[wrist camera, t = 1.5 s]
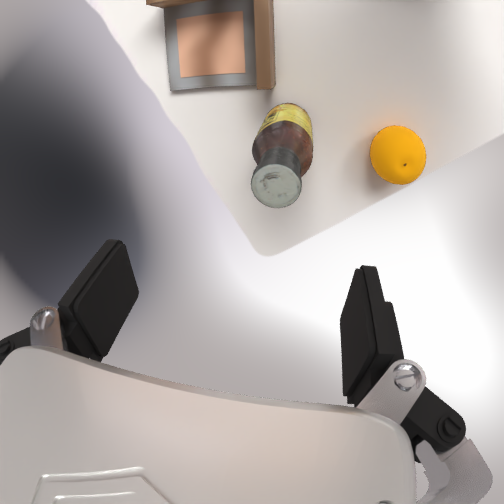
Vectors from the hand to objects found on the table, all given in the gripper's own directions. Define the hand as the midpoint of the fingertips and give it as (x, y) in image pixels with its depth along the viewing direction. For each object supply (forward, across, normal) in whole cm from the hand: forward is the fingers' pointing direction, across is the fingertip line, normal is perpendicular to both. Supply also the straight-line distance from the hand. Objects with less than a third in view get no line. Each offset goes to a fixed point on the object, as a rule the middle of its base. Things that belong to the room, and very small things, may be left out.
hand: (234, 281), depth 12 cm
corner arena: (+33, +9, -11) cm, 36 cm away
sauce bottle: (+33, -1, +1) cm, 33 cm away
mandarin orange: (+33, -16, +2) cm, 37 cm away
